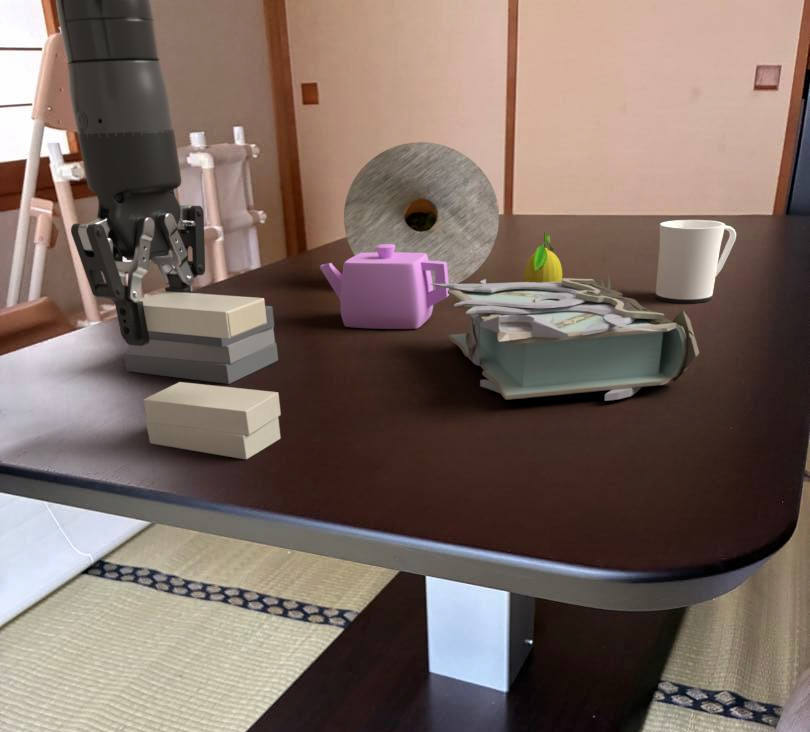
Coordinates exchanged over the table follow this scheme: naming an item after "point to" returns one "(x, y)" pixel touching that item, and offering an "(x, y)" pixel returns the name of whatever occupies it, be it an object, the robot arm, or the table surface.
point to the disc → (424, 207)
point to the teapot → (387, 288)
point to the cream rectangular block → (203, 314)
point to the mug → (690, 259)
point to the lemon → (543, 265)
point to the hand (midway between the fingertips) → (161, 335)
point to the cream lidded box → (213, 419)
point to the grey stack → (205, 354)
